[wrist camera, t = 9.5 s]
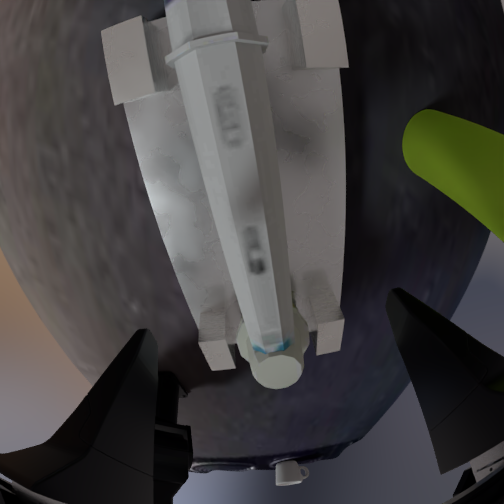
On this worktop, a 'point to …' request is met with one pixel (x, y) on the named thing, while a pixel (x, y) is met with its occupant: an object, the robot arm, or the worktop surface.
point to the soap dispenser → (459, 163)
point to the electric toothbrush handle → (240, 174)
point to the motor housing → (289, 160)
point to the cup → (289, 473)
